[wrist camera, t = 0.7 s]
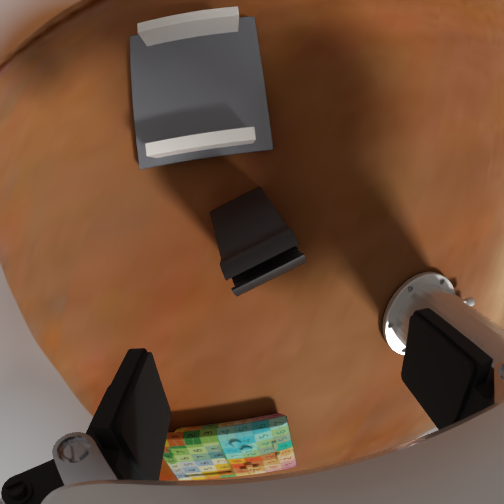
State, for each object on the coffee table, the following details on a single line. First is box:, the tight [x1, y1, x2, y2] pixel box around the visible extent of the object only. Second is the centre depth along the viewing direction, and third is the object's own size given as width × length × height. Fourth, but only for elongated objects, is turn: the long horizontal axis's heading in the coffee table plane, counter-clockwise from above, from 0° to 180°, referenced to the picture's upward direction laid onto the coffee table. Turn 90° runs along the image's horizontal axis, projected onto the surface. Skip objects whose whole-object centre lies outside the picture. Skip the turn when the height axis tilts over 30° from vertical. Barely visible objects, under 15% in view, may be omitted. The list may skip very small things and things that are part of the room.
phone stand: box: [210, 187, 306, 296], centre depth 28 cm, size 9×6×12 cm, turn 26°
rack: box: [130, 6, 273, 169], centre depth 27 cm, size 14×16×6 cm
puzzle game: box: [163, 413, 297, 480], centre depth 40 cm, size 12×5×20 cm
